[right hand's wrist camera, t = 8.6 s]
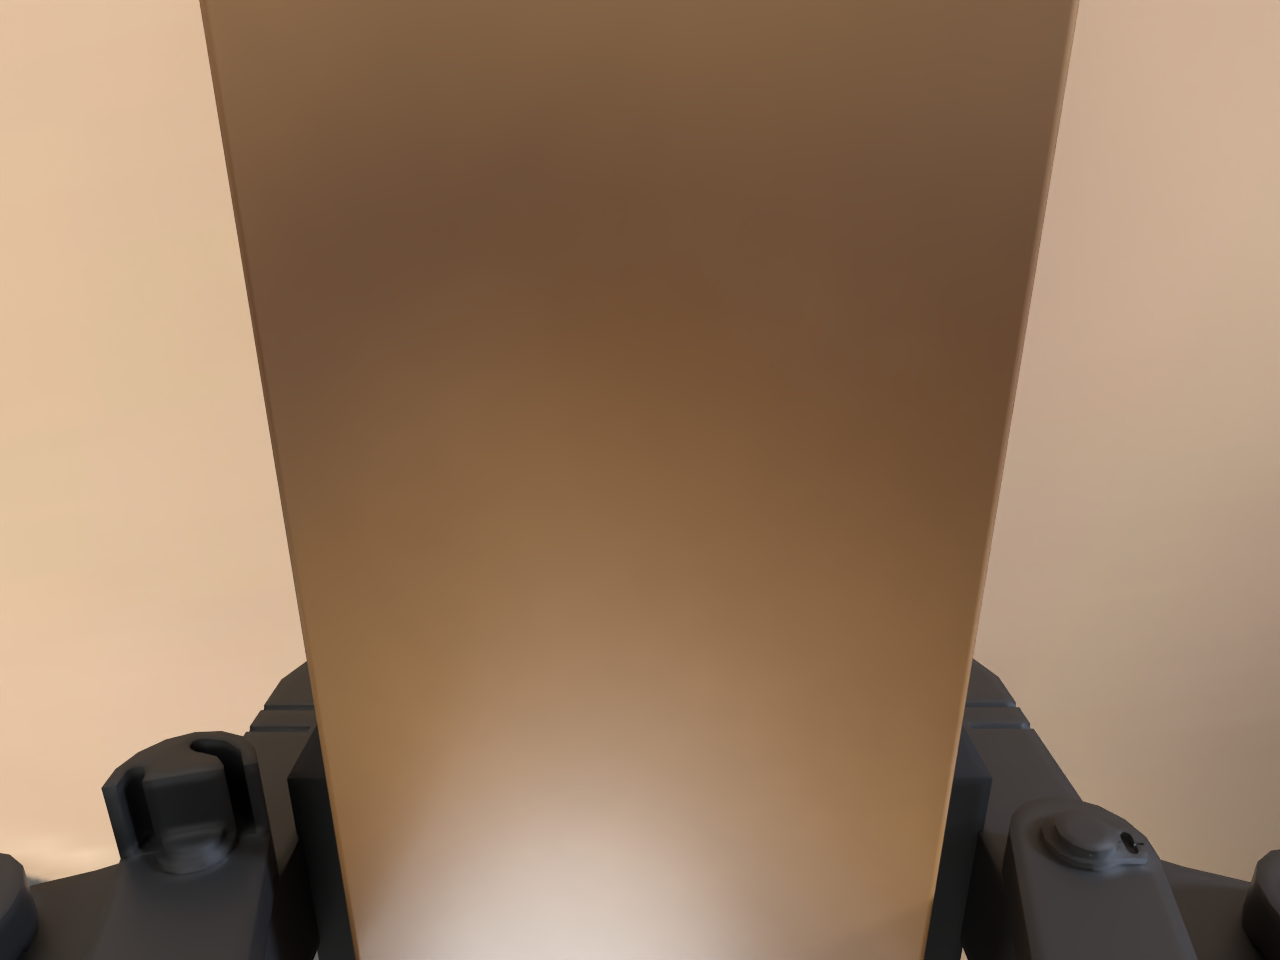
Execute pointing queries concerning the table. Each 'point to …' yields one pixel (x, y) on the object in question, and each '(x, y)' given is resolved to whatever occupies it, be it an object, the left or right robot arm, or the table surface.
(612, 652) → the bar
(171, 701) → the table surface
